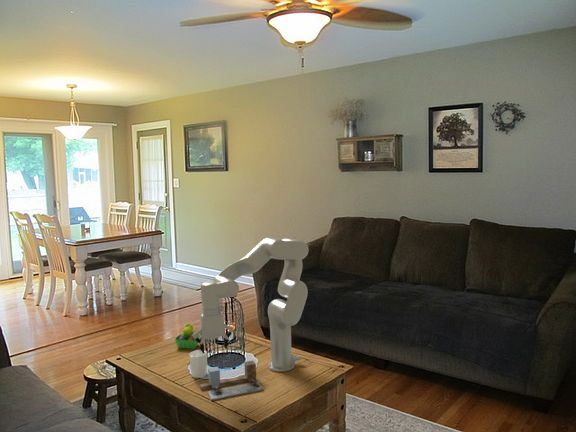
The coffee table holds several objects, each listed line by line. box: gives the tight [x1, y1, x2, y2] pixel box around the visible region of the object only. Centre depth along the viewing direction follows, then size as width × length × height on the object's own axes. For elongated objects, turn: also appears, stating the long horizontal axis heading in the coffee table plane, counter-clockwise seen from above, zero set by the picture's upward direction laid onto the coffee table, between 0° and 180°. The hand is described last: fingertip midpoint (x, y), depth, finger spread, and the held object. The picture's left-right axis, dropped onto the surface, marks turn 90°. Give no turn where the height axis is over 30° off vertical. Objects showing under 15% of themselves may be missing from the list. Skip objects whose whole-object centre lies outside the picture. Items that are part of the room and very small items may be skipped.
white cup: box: [188, 349, 208, 379], centre depth 214 cm, size 8×8×10 cm
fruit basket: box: [174, 322, 201, 350], centre depth 248 cm, size 11×9×11 cm
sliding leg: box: [207, 366, 221, 390], centre depth 201 cm, size 4×7×7 cm, turn 21°
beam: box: [199, 360, 257, 391], centre depth 204 cm, size 24×7×8 cm, turn 111°
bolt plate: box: [207, 381, 265, 402], centre depth 197 cm, size 22×7×1 cm, turn 111°
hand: (214, 349), depth 201 cm, fingers open, 9 cm apart
